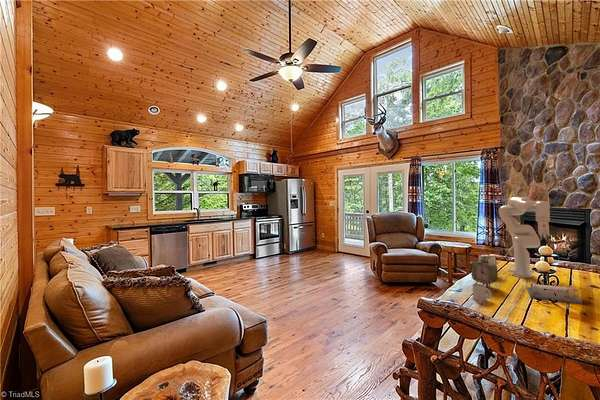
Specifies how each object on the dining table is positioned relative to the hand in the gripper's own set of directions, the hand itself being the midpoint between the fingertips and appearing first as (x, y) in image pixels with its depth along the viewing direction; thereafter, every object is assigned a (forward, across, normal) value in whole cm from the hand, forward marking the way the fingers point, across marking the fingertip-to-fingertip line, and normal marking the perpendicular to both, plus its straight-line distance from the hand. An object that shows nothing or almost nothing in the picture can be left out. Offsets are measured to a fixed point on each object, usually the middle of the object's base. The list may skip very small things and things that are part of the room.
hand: (543, 245), depth 200 cm
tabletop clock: (+29, -16, +35) cm, 48 cm away
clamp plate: (+29, -21, -1) cm, 36 cm away
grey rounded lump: (+29, -45, +37) cm, 65 cm away
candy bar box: (+29, +15, +33) cm, 47 cm away
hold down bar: (+24, -21, -2) cm, 32 cm away
